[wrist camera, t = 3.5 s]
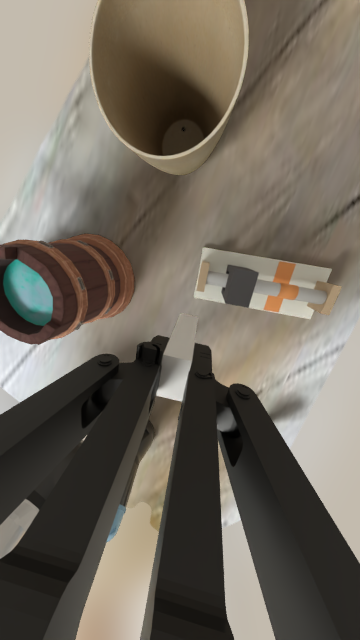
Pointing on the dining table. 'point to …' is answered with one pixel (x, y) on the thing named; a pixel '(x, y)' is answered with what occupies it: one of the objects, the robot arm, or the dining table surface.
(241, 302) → the dark grey slider block
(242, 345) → the dining table surface
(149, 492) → the dining table surface
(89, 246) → the mug
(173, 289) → the dining table surface
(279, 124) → the dining table surface
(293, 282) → the rail
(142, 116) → the plant pot
